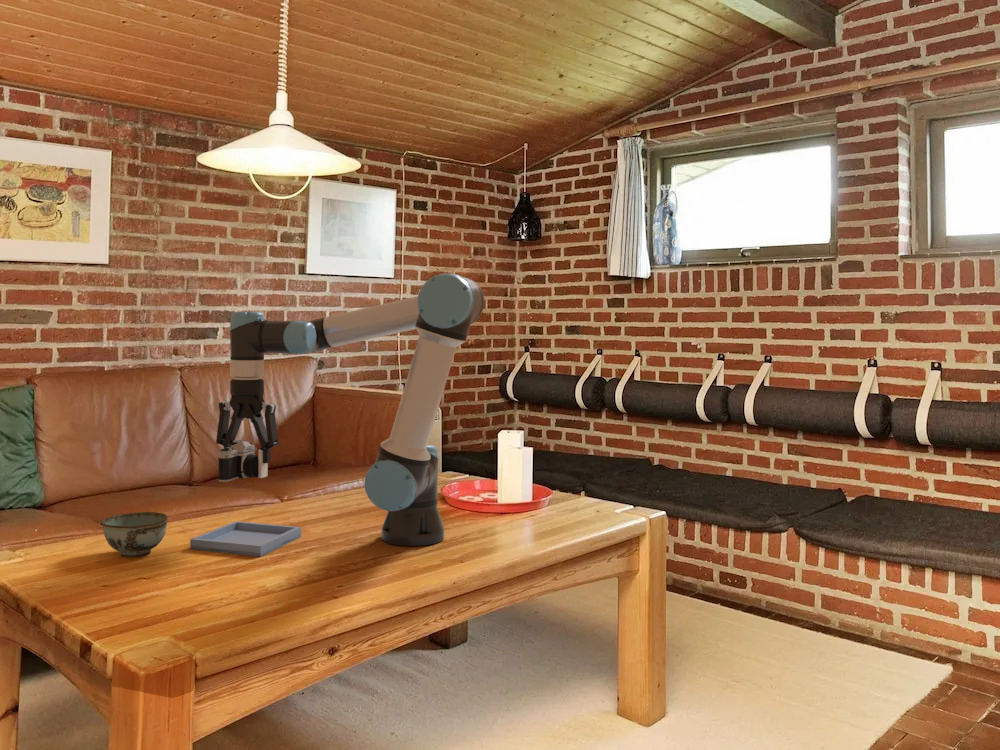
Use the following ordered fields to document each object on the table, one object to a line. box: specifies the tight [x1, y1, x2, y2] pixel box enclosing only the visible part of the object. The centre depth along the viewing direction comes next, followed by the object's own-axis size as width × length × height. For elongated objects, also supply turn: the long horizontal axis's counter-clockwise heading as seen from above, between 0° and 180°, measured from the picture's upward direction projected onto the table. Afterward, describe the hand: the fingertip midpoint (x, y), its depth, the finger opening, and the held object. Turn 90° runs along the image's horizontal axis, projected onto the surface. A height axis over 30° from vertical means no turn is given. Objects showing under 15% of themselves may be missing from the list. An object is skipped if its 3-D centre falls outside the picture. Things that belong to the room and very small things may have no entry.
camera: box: [217, 439, 259, 483], centre depth 192 cm, size 13×8×9 cm, turn 168°
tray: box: [189, 520, 302, 558], centre depth 194 cm, size 18×18×2 cm
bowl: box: [100, 511, 169, 559], centre depth 183 cm, size 14×13×8 cm
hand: (247, 475), depth 193 cm, fingers closed on camera, 8 cm apart
